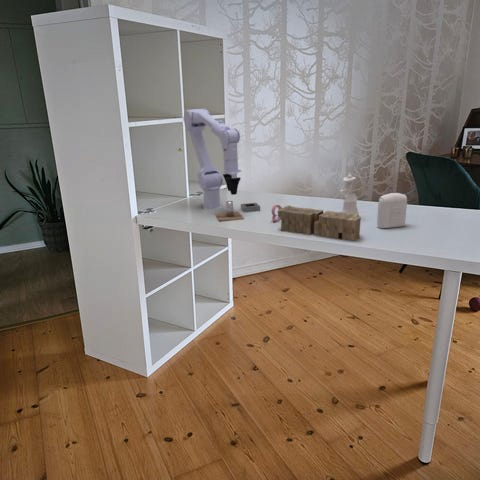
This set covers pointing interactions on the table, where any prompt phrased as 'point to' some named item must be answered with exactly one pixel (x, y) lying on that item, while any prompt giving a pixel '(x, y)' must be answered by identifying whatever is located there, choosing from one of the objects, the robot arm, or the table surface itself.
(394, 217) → the off-white upright rounded block
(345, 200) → the figurine
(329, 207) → the table surface
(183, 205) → the table surface
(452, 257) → the table surface
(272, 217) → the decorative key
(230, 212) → the silver metal cylinder
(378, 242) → the table surface
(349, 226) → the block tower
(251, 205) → the chuck block
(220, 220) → the pad
